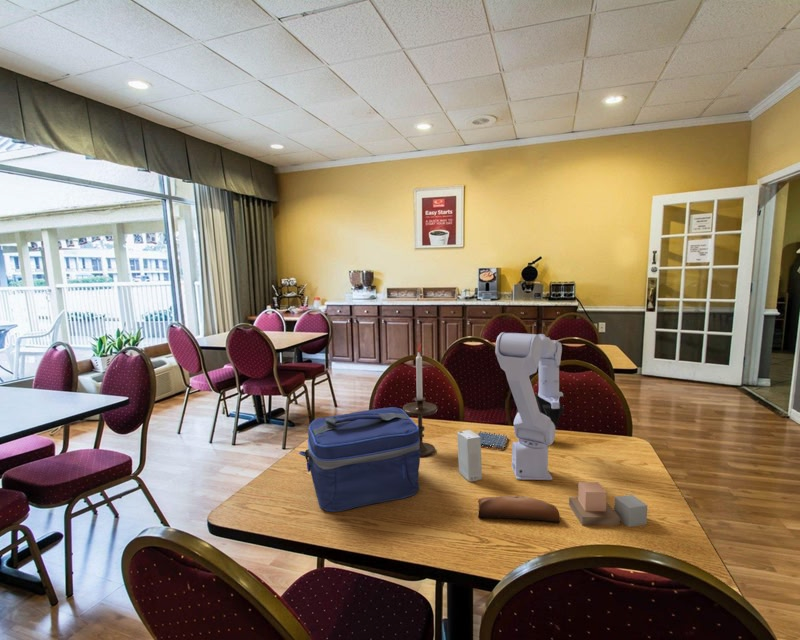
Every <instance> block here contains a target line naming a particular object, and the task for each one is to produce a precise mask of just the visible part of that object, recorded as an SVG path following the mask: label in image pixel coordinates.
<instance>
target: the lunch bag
mask: <svg viewBox="0 0 800 640" xmlns="http://www.w3.org/2000/svg"><path fill="white" fill-rule="evenodd" d="M307 431H308V437H307V444H308V445H307V447H308V448H307V449H306V450H305V451H303V450H302V451H301V450H300V451H299V452H298V454H299V455H301V456H302V457H304V458H305V460H306V469H307V472H308V473H309V472H310V475H311V479H312V483H313V486H314V490H315V495H316V498H317V502H318V505H319V508H321V509H322V510H324V511H327V512H330V513H331V512H342V511H346V510H347V511H348V510H350V509H353V508H354V509H355V508H359V507H362V506H363V507H364V506H368V505H371V504H372V505H373V504H378V503H383V502H390V501H394V500H401V499H405V498H409V497H412V496H414V495H415V494H417V492H418V491H419V490H420V485H419V475H420V473H419V472H420V471H419V468H420V463H421V458H422V457H421V451H420V445H419V444H420V438H419V428H418V424H416V422H414V421H413V420H412V418H411V417H410V415H408V414H406V413H405V412H404V411H403V408H399V407H395V406H394V407H393V406H392V407H391V406H390V407H383V408H377V409H376V408H375V409H367V410H360V411H353V412H349V413H343V414H337V415H331V416H325V417H317V418H315V419H313V420H312V422H310V423H309V426H308V430H307Z"/></svg>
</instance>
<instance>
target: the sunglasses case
mask: <svg viewBox="0 0 800 640" xmlns="http://www.w3.org/2000/svg"><path fill="white" fill-rule="evenodd" d="M477 502H478V513H477V514H478V515H477V517H478V518H483V519H486V518H488V519H492V518H493V519H497V518H498V519H499V518H501V519H505V518H508V519H519V520H520V519H521V520H524V519H525V520H535V521H546V522H548V521H549V522H557V523H560V521H561V520H560V519H561V517H560V512H559V509H558V508H557V506H555V505H553V504H552V503H549V502H546V501H543V500H541V499H537V498H533V497H528V496H527V497H526V496H522V495H500V496H487V497H482V498H479V499H478V501H477Z"/></svg>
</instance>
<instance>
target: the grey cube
mask: <svg viewBox="0 0 800 640" xmlns="http://www.w3.org/2000/svg"><path fill="white" fill-rule="evenodd" d="M613 510H614V511H615V512H616V513H617V515H618V516H619V517H620V521H621V522H622V523H623V524H624V525H625V526H626V527H628V528H631V527H637V526H644V525H645V526H646V525H647V524H648V523H647V522H648V504H646V503H645V502H643V501H642V500H641V499H639V498H637V497H636V496H635V495H633V494H627V495H621V496H614V508H613Z"/></svg>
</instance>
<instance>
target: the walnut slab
mask: <svg viewBox="0 0 800 640" xmlns="http://www.w3.org/2000/svg"><path fill="white" fill-rule="evenodd" d="M568 506H569V507H570V509H571V511H572V512H573V513H574V516H576V518H577V520H578V522H579V523H580V524H581V526H586V527H587V526H589V527H590V526H591V527H592V526H596V527H599V526H601V527H603V526H604V527H606V526H607V527H609V526H611V527H615V526H616V527H618V526H620V521H621V520H620V517H619V516H618V515H617V513H616V512H615V511H614V508H612V506H611V505H610V504H609V502H608V501H607V500H606V511H585V510H584V508H583V507H582V505H581V504H580V502H579V501H578V496H576V497H575V496H573V497H572V496H571V497H570V496H569V497H568Z"/></svg>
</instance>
